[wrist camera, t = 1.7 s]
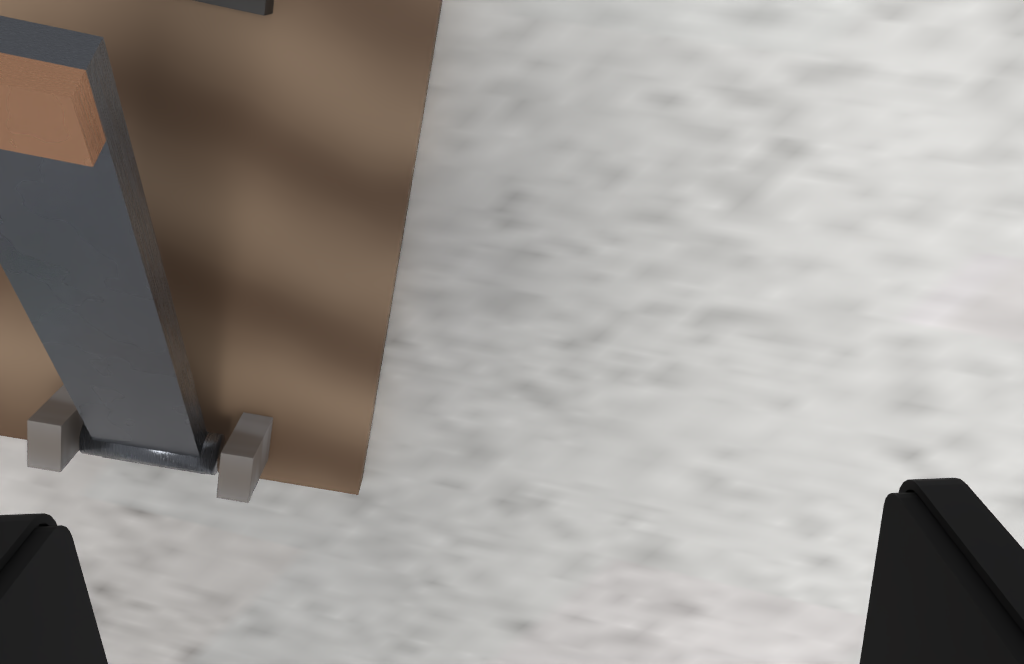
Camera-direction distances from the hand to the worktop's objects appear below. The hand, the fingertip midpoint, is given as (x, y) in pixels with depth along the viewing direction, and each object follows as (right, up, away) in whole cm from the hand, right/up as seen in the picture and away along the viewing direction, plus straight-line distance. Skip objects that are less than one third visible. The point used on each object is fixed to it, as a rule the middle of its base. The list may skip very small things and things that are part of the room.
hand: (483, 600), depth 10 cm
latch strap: (-12, +4, +17) cm, 21 cm away
